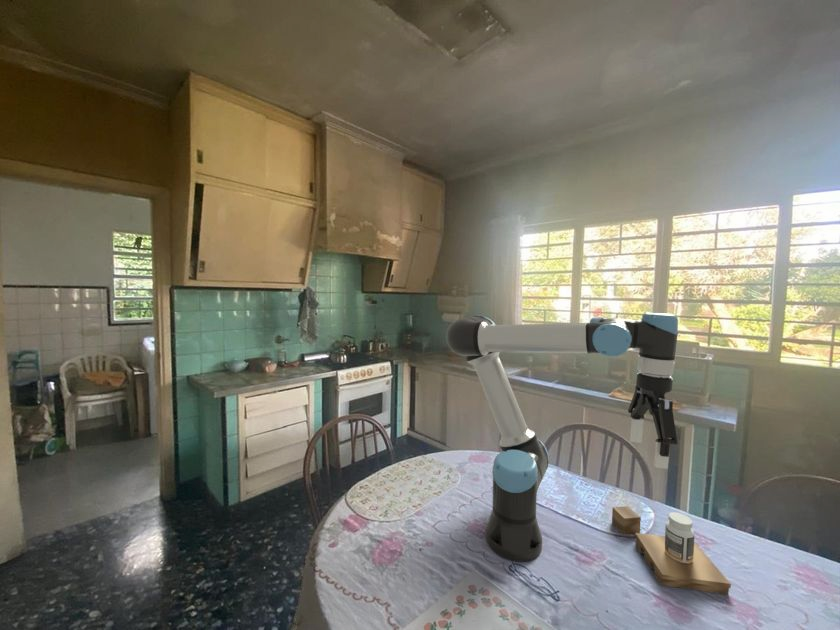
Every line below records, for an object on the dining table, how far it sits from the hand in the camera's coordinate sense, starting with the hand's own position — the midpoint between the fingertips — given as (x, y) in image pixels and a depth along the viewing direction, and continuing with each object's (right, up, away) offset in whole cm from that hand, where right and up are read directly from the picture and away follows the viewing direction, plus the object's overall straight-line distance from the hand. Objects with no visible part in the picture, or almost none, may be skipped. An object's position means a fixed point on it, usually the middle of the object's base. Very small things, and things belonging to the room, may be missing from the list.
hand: (647, 453), depth 88 cm
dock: (+6, -27, -3) cm, 28 cm away
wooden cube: (+1, -27, +11) cm, 29 cm away
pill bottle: (+6, -25, -3) cm, 25 cm away
